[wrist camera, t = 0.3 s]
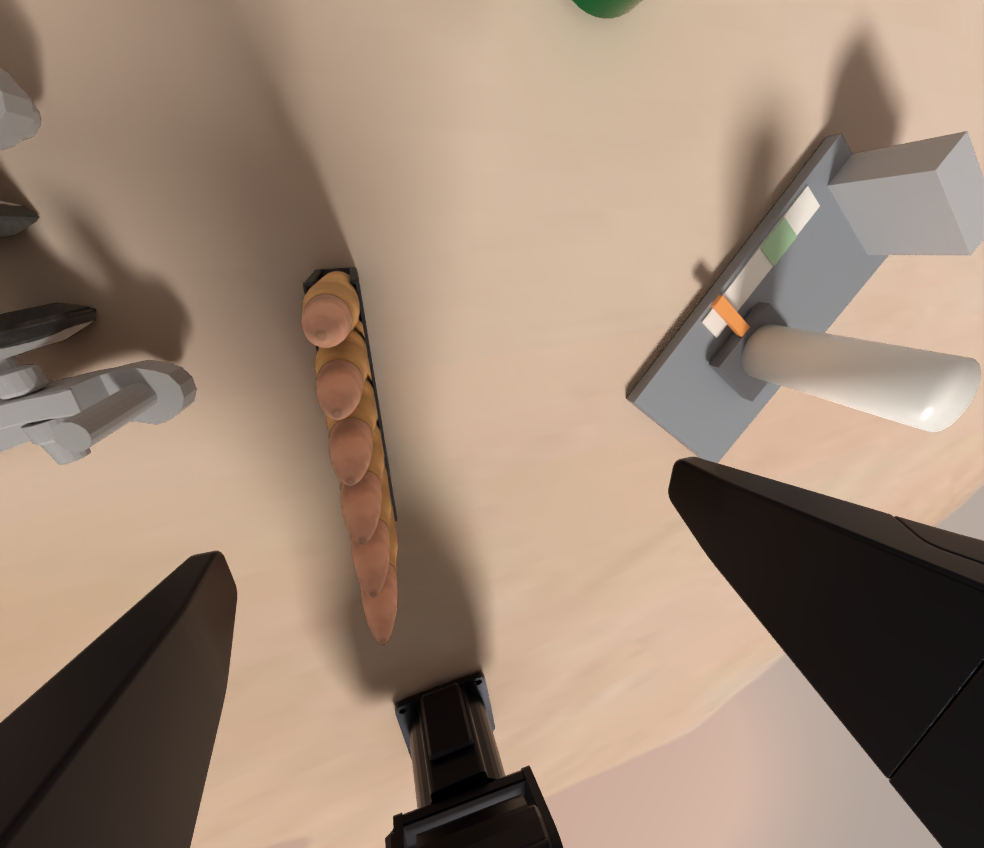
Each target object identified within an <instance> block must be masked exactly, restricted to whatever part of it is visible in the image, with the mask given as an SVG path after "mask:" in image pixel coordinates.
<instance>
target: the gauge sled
mask: <svg viewBox="0 0 984 848" xmlns="http://www.w3.org/2000/svg"><path fill="white" fill-rule="evenodd" d="M711 307H712V308H713V309H714V310H715V311H716V312H717V314H718V315H719V316H720V317H721V318H722V319H723V320H724V321H725V322H726V324H727V325H728V326H729V327H730V328H731V329H732V330H733V331H734V333H733V334H732V336H731V337H730V338H729V339H728V341H727V342H726V343H725V344H724V346H723V347H722V348H721V350H720V351H719V352H718V353H717V355H716V356H715V357H714V358H713V360H712V361H711V362H710V363H709V366H710V367H711V368H712V369H713V370H714V371H715V372H716V373H717V374H718V375H719V376H720V377H721V378H722V379H723V380H724V381H726V382H727V383H728V384H729V385H730V386H731V387H732V388H733V389H734V390H735V391H736V392H737V393H738V394H739V395H740V396H741V397H742V398H743V399H746V400H749V401H752V402H753V400H754V399H755V398H756V397H757V395H758V394H759V393H760V392H761V391H762V389H763V388H764V387H765V386H766V384H767V383H768V382H770V383H773V384H777V385H780V386H783V387H786V388H790V389H793V390H796V391H799V392H802V393H806V394H809V395H812V396H815V397H818V398H822V399H825V400H828V401H831V402H835V403H838V404H841V405H844V406H847V407H851V408H854V409H857V410H860V411H864V412H867V413H870V414H873V415H876V416H880V417H883V418H886V419H889V420H893V421H896V422H899V423H902V424H905V425H909V426H912V427H915V428H918V429H921V430H925V431H928V432H938V431H941V430H943V429H945V428H947V427H948V426H950V425H951V424H953V423H954V422H955V421H956V420H957V419H958V418H959V417H960V416H961V415H962V414H963V413H964V412H965V410H966V409H967V408H968V406H969V405H970V403H971V402H972V400H973V398H974V396H975V394H976V392H977V389H978V386H979V383H980V378H981V369H980V365H979V363H978V362H977V361H976V360H975V359H973V358H968V357H962V356H956V355H950V354H944V353H938V352H932V351H927V350H921V349H915V348H909V347H903V346H897V345H891V344H885V343H880V342H874V341H868V340H862V339H856V338H850V337H844V336H838V335H832V334H827V333H821V332H815V331H809V330H803V329H797V328H791V327H788V325H787V324H786V323H785V322H784V320H783V319H782V318H781V317H780V315H779V314H778V313H777V312H776V310H775V309H774V308H773V307H772V305H771V304H770V303H764V302H758V303H757V304H756V305H755V306H754V308H753V309H752V310H751V311H750V313H749V314H748V315H747V317H746V318H745V319H744V320H743V318H742V317H741V316H740V315H739V314H738V313H737V311H736V310H735V309H734V308H733V307H732V306H731V304H730V303H729V302H728V301H727V300H726V299H725V297H724V296H722V295H718V297H717V298H716V299H715V301H714V302H713V303H712V305H711Z"/></svg>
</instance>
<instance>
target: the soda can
mask: <svg viewBox="0 0 984 848" xmlns="http://www.w3.org/2000/svg"><path fill="white" fill-rule="evenodd" d="M572 1H573V2H574V3H575V4H576V5H577V6H578V7H579V8H581V9H582V10H584V11H585V12H586V13H588V14H591V15H593V16H595V17H599V18H615V17H619V16H622V15H624V14H626V13H628V12H629V11H630V10H632V9H633V8H635V7H636V6H637V5H638V4H639V3H640V2H641V1H643V0H572Z"/></svg>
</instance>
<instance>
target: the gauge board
mask: <svg viewBox="0 0 984 848" xmlns="http://www.w3.org/2000/svg"><path fill="white" fill-rule="evenodd" d="M983 240H984V178H983V175H982V172H981V169H980V166H979V163H978V160H977V157H976V155H975V152H974V149H973V146H972V143H971V140H970V137H969V135H968V132H967V131H966V132H961V133H956V134H950V135H945V136H940V137H935V138H930V139H925V140H920V141H915V142H910V143H905V144H900V145H895V146H890V147H885V148H880V149H875V150H870V151H865V152H860V153H855V154H852V153H851V151H850V149H849V147H848V145H847V143H846V141H845V139H844V137H843V135H842V134H841V133H840V134H836V135H832V136H828V137H826V138H825V140H824V141H823V142H822V144H821V145H820V146H819V147H818V149H817V150H816V151H815V153H814V154H813V155H812V157H811V158H810V159H809V161H808V162H807V163H806V164H805V166H804V167H803V168H802V170H801V171H800V172H799V174H798V175H797V176H796V178H795V179H794V180H793V181H792V183H791V184H790V185H789V187H788V188H787V189H786V191H785V192H784V193H783V194H782V196H781V197H780V198H779V200H778V201H777V202H776V204H775V205H774V206H773V208H772V209H771V210H770V211H769V213H768V214H767V215H766V217H765V218H764V219H763V221H762V222H761V223H760V225H759V226H758V227H757V228H756V230H755V231H754V232H753V234H752V235H751V236H750V238H749V239H748V240H747V242H746V243H745V244H744V245H743V247H742V248H741V249H740V251H739V252H738V253H737V255H736V256H735V257H734V258H733V260H732V261H731V262H730V264H729V265H728V266H727V268H726V269H725V270H724V272H723V273H722V274H721V275H720V277H719V278H718V279H717V281H716V282H715V283H714V285H713V286H712V287H711V289H710V290H709V291H708V292H707V294H706V295H705V296H704V298H703V299H702V300H701V302H700V303H699V304H698V306H697V307H696V308H695V309H694V311H693V312H692V313H691V315H690V316H689V317H688V319H687V320H686V321H685V322H684V324H683V325H682V326H681V328H680V329H679V330H678V332H677V333H676V334H675V336H674V337H673V338H672V339H671V341H670V342H669V343H668V345H667V346H666V347H665V349H664V350H663V351H662V353H661V354H660V355H659V356H658V358H657V359H656V360H655V362H654V363H653V364H652V366H651V367H650V368H649V370H648V371H647V372H646V373H645V375H644V376H643V377H642V379H641V380H640V381H639V383H638V384H637V385H636V386H635V388H634V389H633V390H632V392H631V393H630V394H629V396H628V397H627V398H626V399H627V400H628V401H630V402H631V403H632V404H633V405H634V406H636V407H637V408H638V409H639V410H641V411H642V412H643V413H644V414H646V415H647V416H648V417H649V418H651V419H652V420H653V421H654V422H656V423H657V424H658V425H659V426H661V427H662V428H663V429H664V430H666V431H667V432H668V433H669V434H671V435H672V436H673V437H674V438H676V439H677V440H678V441H679V442H681V443H682V444H683V445H684V446H685V447H687V448H688V449H689V450H690V451H692V452H693V453H694V454H695V455H697V456H698V457H699V458H701V459H704V460H708V461H711V462H715V463H718V462H719V461H720V460H721V458H722V457H723V456H724V455H725V454H726V452H727V451H728V450H729V449H730V447H731V446H732V445H733V444H734V443H735V441H736V440H737V439H738V438H739V437H740V435H741V434H742V433H743V432H744V430H745V429H746V428H747V427H748V426H749V424H750V423H751V422H752V421H753V420H754V418H755V417H756V416H757V415H758V413H759V412H760V411H761V410H762V409H763V407H764V406H765V405H766V404H767V402H768V401H769V400H770V399H771V398H772V396H773V395H774V394H775V393H776V392H777V390H778V389H779V388H780V387H781V386H780V385H777V384H773V383H770V382H768V383H767V384H766V386H765V387H764V388H763V389H762V391H761V392H760V393H759V394H758V395H757V397H756V398H755V399H754V400H753V402H752V401H749V400H746V399H743V398H742V397H741V396H740V395H739V394H738V393H737V392H736V391H735V390H734V389H733V388H732V387H731V386H730V385H729V384H728V383H727V382H726V381H724V380H723V379H722V378H721V377H720V376H719V375H718V374H717V373H716V372H715V371H714V370H713V369H712V368H711V367H710V366H709V363H710V362H711V361H712V360H713V358H714V357H715V356H716V355H717V353H718V352H719V351H720V350H721V348H722V347H723V346H724V344H725V343H726V342H727V341H728V339H729V338H730V337H731V336H732V334H733V333H734V331H733V330H732V329H731V328H730V327H729V326H728V325H727V324H726V322H725V321H724V320H723V319H722V318H721V317H720V316H719V315H718V314H717V312H716V311H715V310H714V309H713V308H712V307H711V305H712V303H713V302H714V301H715V299H716V298H717V297H718V295H722V296H724V297H725V299H726V300H727V301H728V302H729V303H730V304H731V306H732V307H733V308H734V309H735V310H736V311H737V313H738V314H739V315H740V316H741V317H742V318H743V320H744V319H745V318H746V317H747V315H748V314H749V313H750V311H751V310H752V309H753V308H754V306H755V305H756V304H757V303H758V302H764V303H770V304H771V305H772V307H773V308H774V309H775V310H776V312H777V313H778V314H779V315H780V317H781V318H782V319H783V320H784V322H785V323H786V324H787V325H788V327H791V328H797V329H803V330H809V331H815V332H821V333H825V332H826V331H827V329H828V328H829V327H830V326H831V325H832V323H833V322H834V321H835V320H836V319H837V317H838V316H839V315H840V314H841V312H842V311H843V310H844V309H845V308H846V306H847V305H848V304H849V303H850V302H851V300H852V299H853V298H854V297H855V295H856V294H857V293H858V292H859V291H860V289H861V288H862V287H863V286H864V284H865V283H866V282H867V281H868V280H869V278H870V277H871V276H872V275H873V274H874V272H875V271H876V270H877V269H878V267H879V266H880V265H881V264H882V263H883V261H884V260H885V259H886V258H887V257H888V255H971V254H972V253H973V252H974V251H975V250H976V248H977V247H978V246H979V245H980V244H981V243H982V241H983Z"/></svg>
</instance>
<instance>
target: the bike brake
mask: <svg viewBox="0 0 984 848" xmlns="http://www.w3.org/2000/svg"><path fill="white" fill-rule="evenodd" d="M40 125H41V116H40V112H39V111H38V109H37V108H36V106H35V105H34V102H33V100H32V99H31V98H30V97H29V95H28V94H27V93H26V92H25V91H24V90H23V89H22V88H21V87H19V85H18V84H17V83H16V81H15V80H14V79H13V78H12V76H11V75H10V74H9V73H8V72H6V71H5V70H3V69H2V68H0V150H3V149H7V148H11V147H14V146H15V145H16V144H18V143H19V142H20V141H21V140H26V139H29V138H31V137H33V136H34V135H35V134H36V132H37V130H38V128H39V127H40ZM38 218H39V216H38V215H36V214H35V213H33V212H32V211H31V210H29V209H28V208H27V207H25V206H24V205H20V204H15V203H9V202H4V201H0V238H4V237H9V236H14V235H15V234H17V233H19V232H20V231H22V230H24V229H25V228H27V227H28V226H30V225H32V224H33V223H35V222H36V221H37V220H38ZM95 314H96V309H93V308H91V307H86V306H79V305H71V304H63V303H53V304H48V305H43V306H39V307H34V308H29V309H24V310H19V311H14V312H9V313H4V314H0V453H2V452H4V451H7V450H9V449H11V448H14V447H16V446H19V445H21V444H23V443H26V442H30V441H31V442H32V443H33V444H36V445H40V446H41V447H42V448H43V449H44V450H45V451H46V452H47V453H48V454H49V455H50V456H51V457H52V458H53V459H54V460H55V461H56V462H57V463H58V464H59V465H64V464H68V463H71V462H74V461H76V460H79V459H81V458H83V457H85V456H87V455H88V454H89V453H90V452H91V451H90V449H89V448H90V447H91V446H93V445H94V444H96V443H97V442H99V441H101V440H102V439H104V438H105V437H107V436H108V435H110V434H111V433H113V432H115V431H116V430H118V429H119V428H121V427H122V426H124V425H125V424H127V423H129V422H130V421H136V422H143V423H149V424H156V425H157V424H160V423H164V422H166V421H168V420H170V419H172V418H173V417H175V416H176V415H177V414H179V413H180V412H181V411H183V410H184V409H185V408H186V407H188V406H189V405H190V404H191V403H193V402H194V400H195V395H196V390H197V388H196V386H195V383H194V380H193V377H192V376H191V375H190V374H189V373H188V372H186V371H185V370H184V369H183V368H182V367H180V366H177V365H174V364H170V363H166V362H161V361H154V360H145V361H140V362H135V363H130V364H127V365H123V366H119V367H115V368H109V369H104V370H98V371H94V372H90V373H86V374H82V375H78V376H74V377H69V378H65V379H60V380H56V381H52V382H49V380H48V378H47V377H46V375H45V374H44V373H43V371H42V370H41V368H40V367H39V365H38V364H31V365H20V364H19V363H18V361H17V360H16V359H15V357H14V355H18V354H21V353H24V352H27V351H31V350H34V349H37V348H40V347H43V346H47V345H50V344H53V343H56V342H60V341H63V340H65V339H67V338H68V337H70V336H71V335H73V334H75V333H76V332H78V331H79V330H81V329H83V328H84V327H86V326H87V325H89V324H91V323H92V322H94V321H95Z"/></svg>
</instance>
